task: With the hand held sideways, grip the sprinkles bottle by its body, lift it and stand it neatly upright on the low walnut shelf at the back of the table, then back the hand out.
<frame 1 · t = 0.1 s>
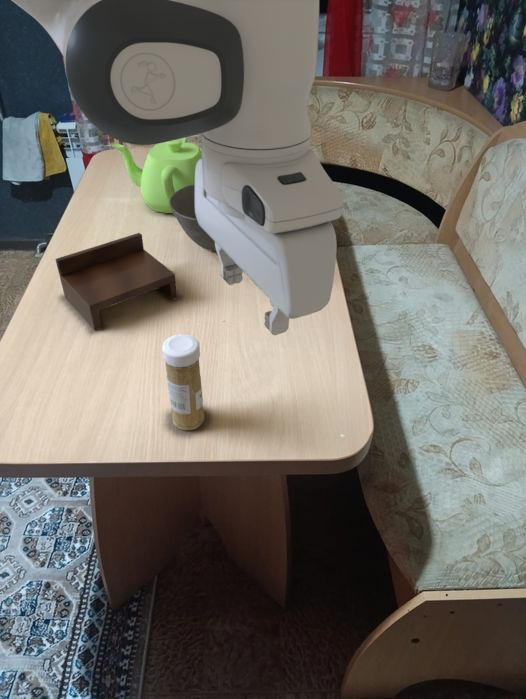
hand: (252, 303, 54), 25 cm above the table, tool pointing down, fingers open, 8 cm apart
shelf: (121, 298, 97), on the table
fruit: (270, 274, 105), on the table
teapot: (171, 202, 129), on the table
sprinkles bottle: (188, 420, 75), on the table
bowl: (218, 245, 113), on the table
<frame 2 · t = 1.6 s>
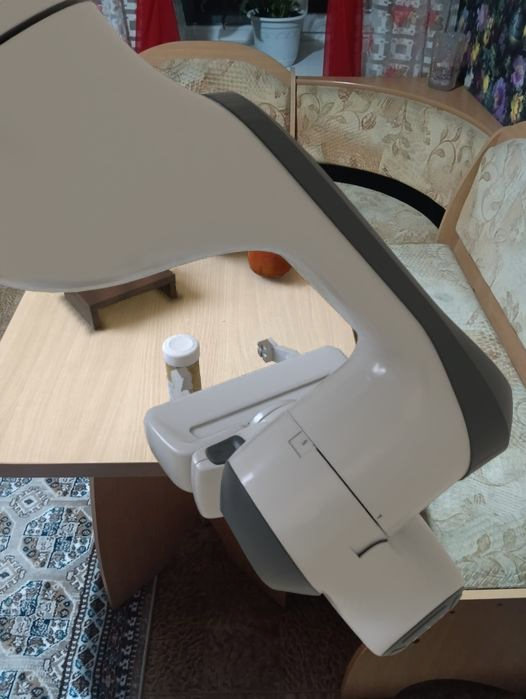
hand: (222, 358, 54), 20 cm above the table, tool horizontal, fingers open, 8 cm apart
nothing on the table moved.
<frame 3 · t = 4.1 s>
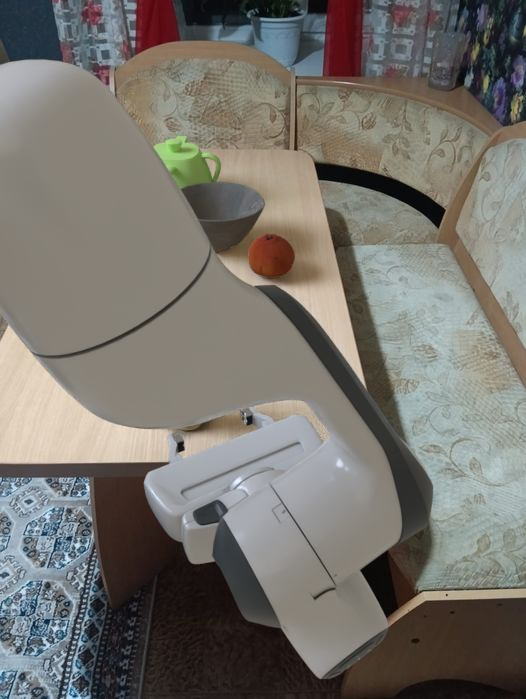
hand: (209, 423, 65), 7 cm above the table, tool horizontal, fingers open, 8 cm apart
nothing on the table moved.
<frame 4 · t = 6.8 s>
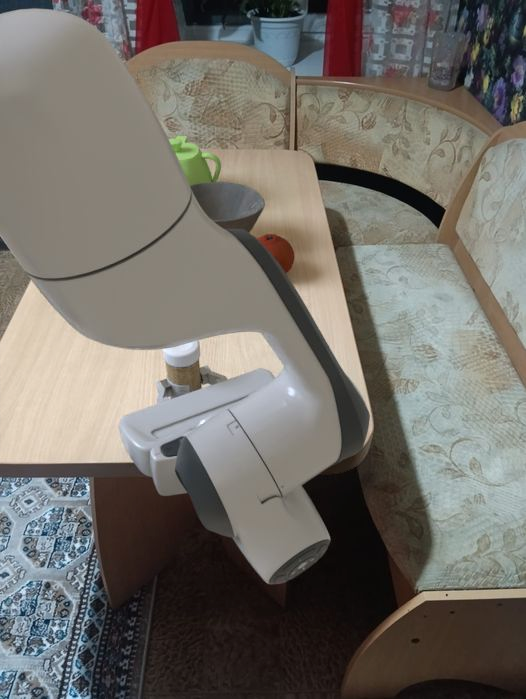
hand: (181, 377, 71), 7 cm above the table, tool horizontal, fingers closed on sprinkles bottle, 4 cm apart
sprinkles bottle: (188, 420, 75), on the table, touching gripper
everything else where it was.
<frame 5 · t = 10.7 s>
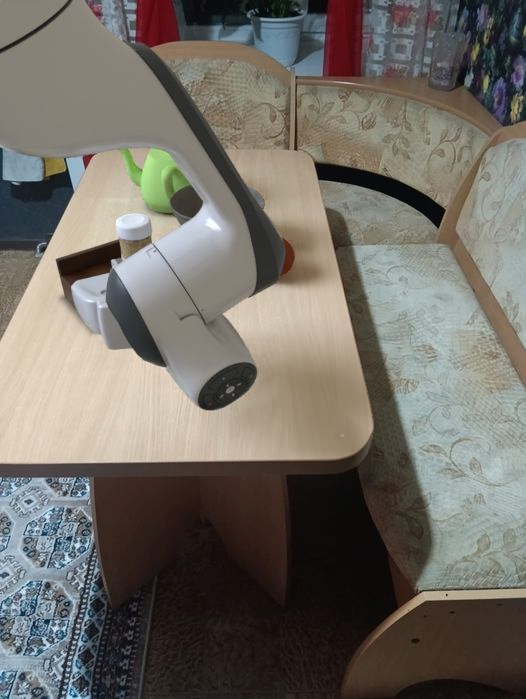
hand: (136, 258, 75), 17 cm above the table, tool horizontal, fingers closed on sprinkles bottle, 4 cm apart
sprinkles bottle: (145, 306, 79), point 9 cm above the table, touching gripper
everything else where it was.
when the fingers open (12 cm above the table, at t = 14.7 s): sprinkles bottle stays where it is, resting on shelf.
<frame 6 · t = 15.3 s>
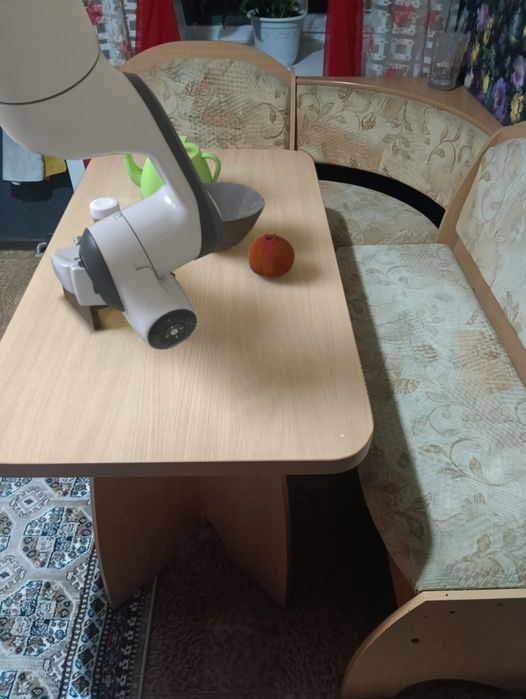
hand: (106, 234, 89), 13 cm above the table, tool horizontal, fingers open, 8 cm apart
sprinkles bottle: (117, 277, 94), point 5 cm above the table, touching shelf
everything else where it was.
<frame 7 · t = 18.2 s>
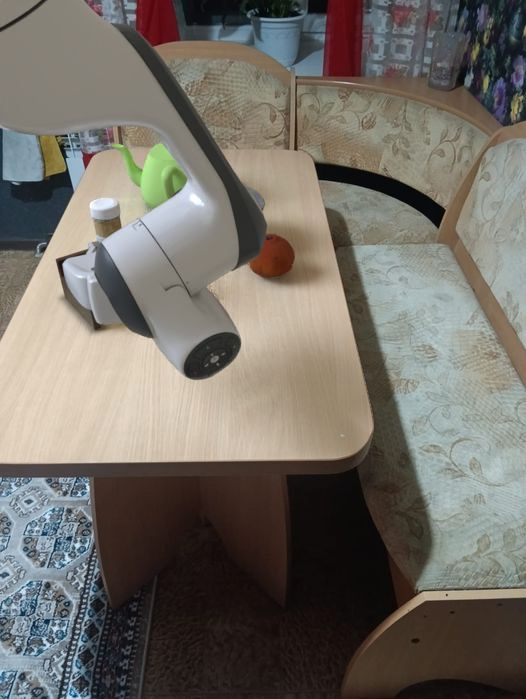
hand: (126, 239, 77), 18 cm above the table, tool horizontal, fingers open, 8 cm apart
nothing on the table moved.
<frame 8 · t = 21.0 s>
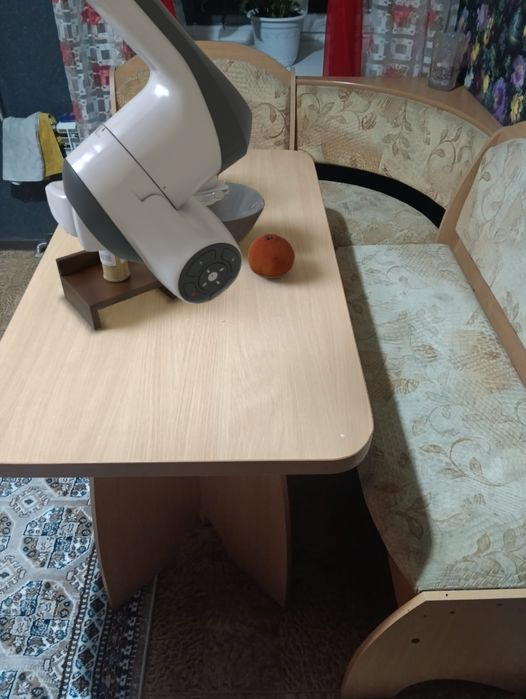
hand: (117, 169, 71), 28 cm above the table, tool horizontal, fingers open, 8 cm apart
nothing on the table moved.
at the end: sprinkles bottle inside the target area on the shelf (0.5 cm from its centre), point 4.8 cm above the shelf's base; sprinkles bottle tilted 0° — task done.
